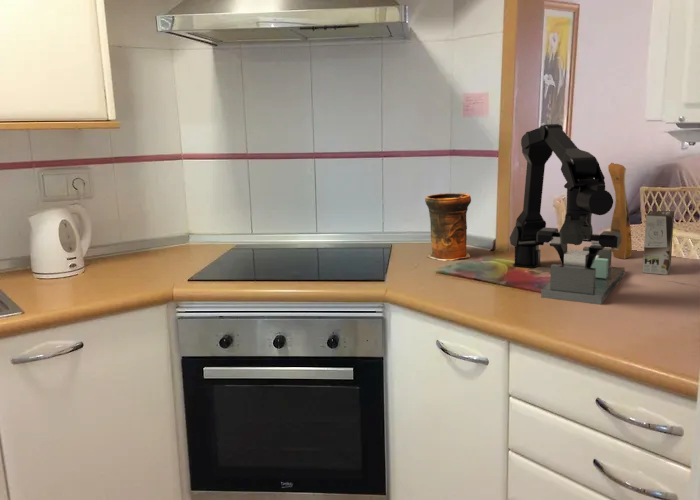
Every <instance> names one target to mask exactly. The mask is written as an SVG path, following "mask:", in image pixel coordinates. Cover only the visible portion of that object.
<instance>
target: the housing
mask: <svg viewBox="0 0 700 500" xmlns="http://www.w3.org/2000/svg"><path fill="white" fill-rule="evenodd" d="M588 256H589V251H583V250H579V249H578V250H577V249H567V252H566V253H565V254H564V265H568V266H578V267H587V263H588Z"/></svg>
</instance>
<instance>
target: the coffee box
mask: <svg viewBox="0 0 700 500" xmlns="http://www.w3.org/2000/svg"><path fill="white" fill-rule="evenodd" d="M645 216H646V217H645V218H646V219H645V230H644V247H643V248H644V250H643V261H642V262H643V263H642V273H645V274H654V275H655V274H656V275H665V276H667V275H668V274H669V272H670V269H671V265H672V250H673V249H672V248H673V238H674V237H673V236H674V234H673V233H674V223H675V221H674V220H675V211H674V210H672V211H671V210H649V212H648V213H647V214H646V215H645Z"/></svg>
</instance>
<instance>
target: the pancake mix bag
mask: <svg viewBox="0 0 700 500" xmlns="http://www.w3.org/2000/svg"><path fill="white" fill-rule="evenodd" d="M607 167H608V168H607V169H608V173H609V175H610V176H609V177H610V179H611V183H612V186H613V189H614V195H615V196H614V197H615V203H614V204H615V205H614V208H613V213H612V220H611V223H610V224H611V225H610V232H619V233H620V234H621V244H620V245H619V246H618V247H617V248H612V255H613V257H614V258H616V259H622V260H626V259H629V258H631V256H632V250H633V247H632V246H633V244H632V230H631V228H632V227H631V220H630V211H629V205H628V200H627V199H628V198H627V192H626V191H627V190H626V170H627V168H626V167H625V166H624V165H622V164H620V163H614V162H611V163H610V164H609V165H608V166H607Z"/></svg>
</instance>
